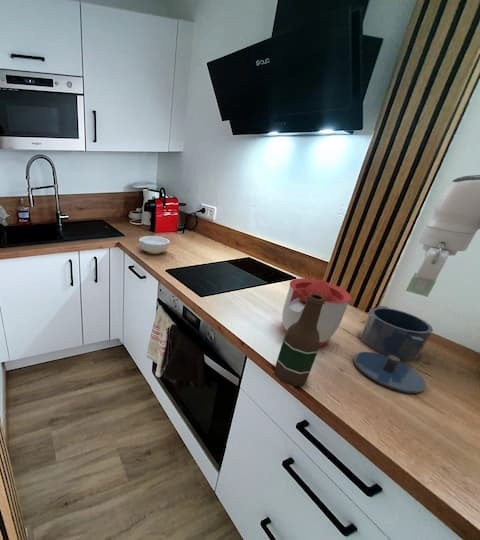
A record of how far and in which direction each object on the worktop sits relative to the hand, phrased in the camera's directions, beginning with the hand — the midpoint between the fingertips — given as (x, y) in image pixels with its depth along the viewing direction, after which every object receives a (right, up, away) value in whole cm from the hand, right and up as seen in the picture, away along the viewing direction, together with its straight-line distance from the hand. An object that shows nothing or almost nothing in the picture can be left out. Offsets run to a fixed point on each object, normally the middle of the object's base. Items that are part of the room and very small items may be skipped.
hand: (420, 286), depth 80 cm
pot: (-1, -19, +9) cm, 21 cm away
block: (0, -1, +1) cm, 2 cm away
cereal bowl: (-66, +15, +82) cm, 106 cm away
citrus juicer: (-26, -17, +11) cm, 33 cm away
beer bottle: (-40, -24, -5) cm, 47 cm away
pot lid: (-12, -23, -3) cm, 26 cm away
